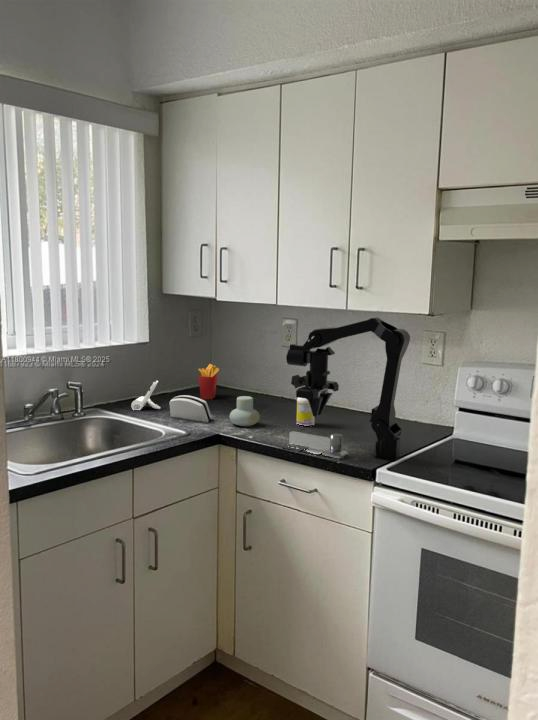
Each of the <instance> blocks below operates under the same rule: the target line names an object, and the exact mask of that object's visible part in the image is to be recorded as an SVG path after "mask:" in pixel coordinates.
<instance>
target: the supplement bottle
mask: <svg viewBox="0 0 538 720" xmlns="http://www.w3.org/2000/svg"><path fill="white" fill-rule="evenodd" d="M315 418H316V417H314V416H313V414H312V411H311V407H310V404H309V401H308V400H307V399H306V398H299V397H297V399H296V425H297V424H299V425H304V426H309V425H313V426H315V422H316V419H315ZM299 425H298V426H299Z"/></svg>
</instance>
